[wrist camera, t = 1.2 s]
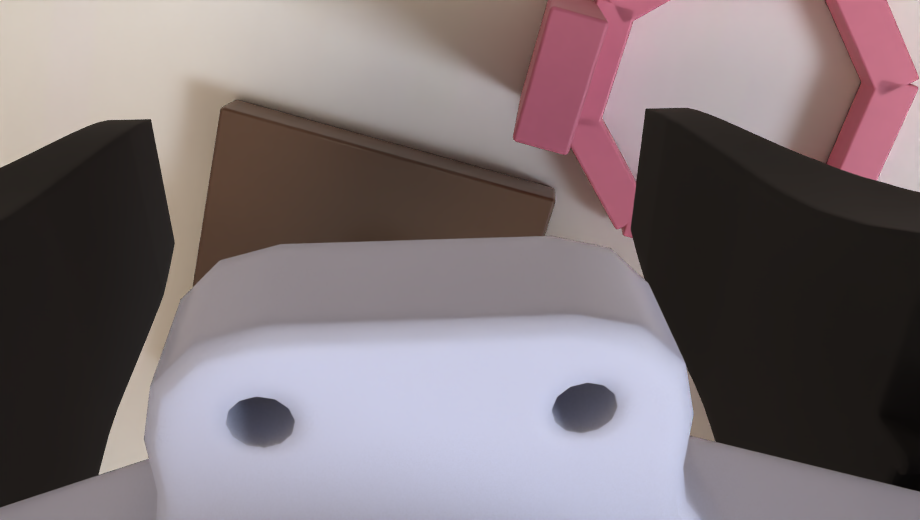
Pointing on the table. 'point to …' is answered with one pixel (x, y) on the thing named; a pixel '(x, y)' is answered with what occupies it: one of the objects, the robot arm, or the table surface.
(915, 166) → the table surface
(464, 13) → the table surface
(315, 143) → the stand
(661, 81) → the table surface
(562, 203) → the table surface
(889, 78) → the pink octagonal frame
